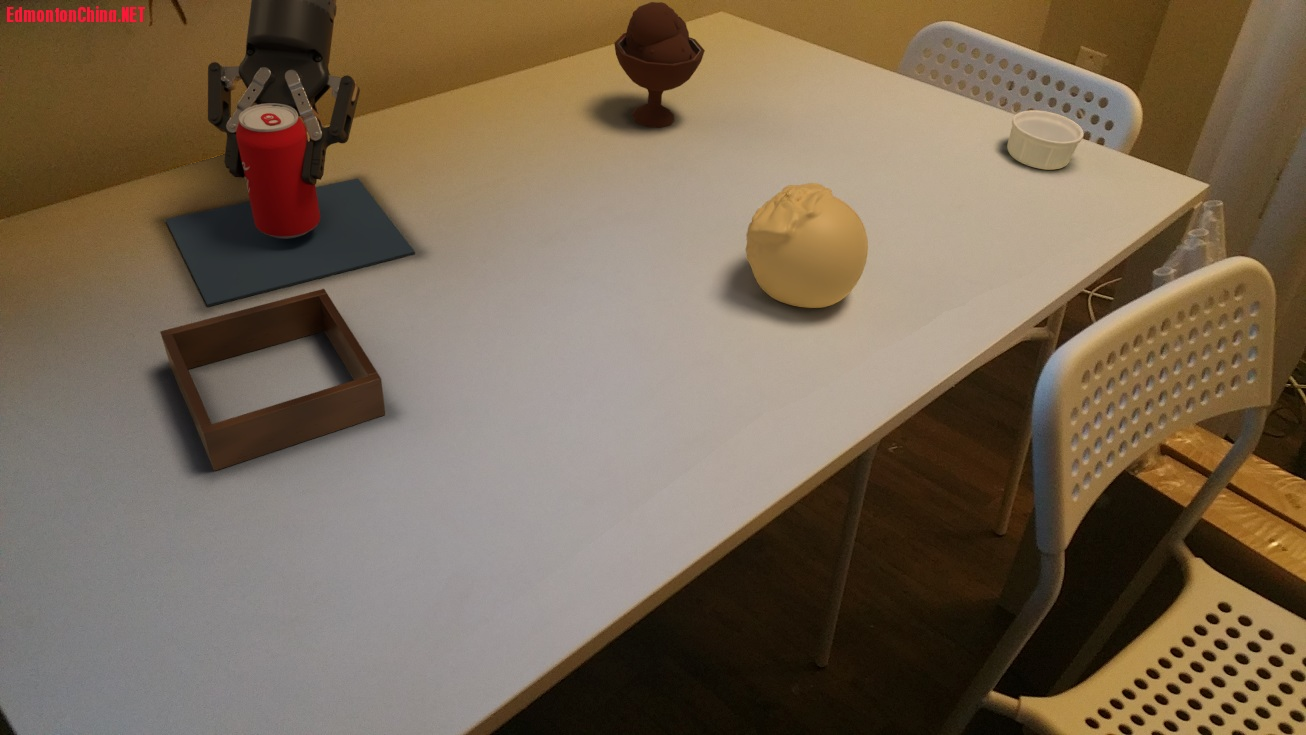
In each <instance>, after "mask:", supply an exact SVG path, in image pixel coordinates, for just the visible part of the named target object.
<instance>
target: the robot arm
mask: <svg viewBox="0 0 1306 735" xmlns="http://www.w3.org/2000/svg"><path fill="white" fill-rule="evenodd" d="M337 8H338V7H337V0H251V3H250V9H249V10H250V12H249V19H248V24H247V25H248V26H247V34H246V43H245V54H244V57H243V60H242V61H241V62H240V63H239V65H238V66H234V65H233V66H222V65H221V64H220V63H218V62H216V61H213V62H210V63H209V64H208V67H207V120H208V122H209V123H210V124H211V125H213V126H214V127H215V128H217V129H218V131H220V132H223V133H225V134H226V141H225V151H224V157H223V158H224V160H223V163H224V166H225V168H226V169H228V172H229V174H230V175H231V176H233V177H234V178H237V179H245V175H244V170H243V166H242V161H241V156H240V152H239V147H238V142H237V138H236V130H237V127H238V124H239V115H240V114H241V112H242V111H244V110H245V109H247V108H249V107H252V106H255V105H259V104H267V103H276V104H283V105H287V106H290V107H292V108H294V109H295V110H296V111H297V113H298V117H301V118H300V119H301V120H302V122H303V124H304V125H305V127H306V131H307V135H308V137H309V139H308V141H306V148H305V154H304V162H303V171H302V180H303V181H304V182H305V183H306V184H307V185H315V186H316V185H317V181H318V180H322V178H323V177H324V172H325V162H326V156H327V155H326V154H327V149H328V148H329V147H330V146H331V145H335V144H338V143H339V144H343V145H344V144H346V143H347V142H348V141H349V138H350V134H351V130H352V125H353V122H354V117H355V113H356V109H357V105H358V101H359V97H360V93H361V90H360V89H361V88H360V87H359V85H358V84H357V82H356V81H355V80H354V79H353V77H352V76H351V75H343V76H340V77H339V76H335V75H331V73H330V69H329V64H330V59H331V58H330V57H331V50H332V41H333V40H332V39H333V34H334V24H335V17H336V15H337ZM239 81H242V83H243V84H244V86H245V88H246V90H245V92H244V93H243V94H242V96H241V97H240V99H239V100H238V101H237V103H236V109H235V110H234V112H233V114H232V91H234V90H236V88H237V85H238V82H239ZM330 89H331V96H333V98H335V101H334V106H333V110H332V113H331V117H330V122H329V126H326V127H325V126H324V121H323V119H322V115H321V113H320V111H319V108H318V105H317V103H318V102H319V101H320V99H321V98H323V96H325V95H326V93H327V92H328V91H329V90H330ZM273 106H279V105H273ZM280 107H282V106H280Z"/></svg>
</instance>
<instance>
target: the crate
mask: <svg viewBox="0 0 1306 735" xmlns="http://www.w3.org/2000/svg"><path fill="white" fill-rule="evenodd" d="M322 332H324V334H325V335H326V337H327V338H328V340H329V342H330V343H331V345H332V347H333V348H334V350H335V351H336V353H337V355H338V356H339V358H340V360H341V361H342V363H343V364H344V366H345V368H346V370H347V371H348V373H349V374H350V376H351V378H352V380H351V381H348V382H344V383H341V384H338V385H334V386H331V387H328V388H325V389H321V390H318V391H315V392H311V393H308V394H305V395H302V396H299V397H296V398H293V399H290V400H286V401H282V402H280V403H275V404H272V405H269V406H266V407H264V408H260V409H257V410H254V411H250V412H247V413H243V414H240V415H237V416H234V417H231V418H227V419H224V420H221V421H217V422H214V423H212V421H211V419H210V416H209V414H208V412H207V410H206V407H205V404H204V403H203V400H202V398H201V396H200V394H199V392H198V389H197V387H196V384H195V382H194V380H193V377H192V375H191V373H190V371H189V370H191V369H194V368H197V367H202V366H204V365H208V364H212V363H216V362H218V361H222V360H226V359H229V358H234V357H236V356H240V355H245V354H248V353H250V352H254V351H255V352H256V351H258V350H262V349H265V348H269V347H272V346H275V345H280V344H284V343H286V342H287V343H288V342H290V341H294V340H298V339H301V338H304V337H308V336H311V335H315V334H318V333H322ZM160 336H161V340H162V342H163V346H164V349H165V352H166V357H167V359H168V363H169V366H170V369H171V371H172V374H173V376H174V378H175V381H176V383H177V386H178V388H179V390H180V393H181V396H182V398H183V400H184V403H185V405H186V407H187V409H188V412H189V414H190V417H191V419H192V421H193V424H194V426H195V429H196V431H197V434H198V436H199V438H200V440H201V443H202V445H203V448H204V450H205V453H206V455H207V458H208V460H209V462H210V465H211V467H212V469H213V471H214V472H216V471H220V470H222V469H225V468H228V467H232V466H234V465H237V464H240V463H243V462H247V461H250V460H252V459H256V458H257V457H261V456H264V455H268V454H271V453H273V452H276V451H279V450H282V449H286V448H289V447H291V446H295V445H298V444H300V443H303V442H306V441H310V440H312V439H316V438H319V437H322V436H325V435H329V434H331V433H334V432H338V431H340V430H343V429H346V428H350V427H352V426H355V425H359V424H361V423H365V422H367V421H368V422H369V421H370V420H373V419H377V418H379V417H382V416H385V415H386V408H385V407H386V406H385V399H384V398H385V397H384V391H383V390H384V389H383V381H382V377H381V376H380V374H379V373H378V371H377V370H376V368H375V366H374V365H373V363H372V362H371V360H370V358H369V356H367V354H366V352H365V351H364V349H363V347H362V346H361V344H360V342H359V341H358V339H357V338H356V336H355V335H354V333H353V332H352V330H351V329H350V327H349V325H348V324H347V322H346V321H345V319H344V317H343V316H342V314H341V313H340V311H339V310H338V308H337V307H336V305H335V303H334V302H333V300H332V299H331V297H330V295H329V294H328V292H327V291H326V290H325V288H322V289H321V288H320V289H317V290H313V291H309V292H306V293H305V292H304V293H301V294H298V295H295V296H290V297H287V298H282V299H279V300H276V301H271V302H268V303H264V304H259V305H255V306H252V307H248V308H244V309H241V310H236V311H232V312H229V313H225V314H221V315H218V316H214V317H210V318H206V319H202V320H199V321H195V322H191V323H187V324H183V325H179V326H175V327H172V328H167V329H164V330H161V331H160Z"/></svg>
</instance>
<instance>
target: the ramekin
mask: <svg viewBox="0 0 1306 735" xmlns="http://www.w3.org/2000/svg"><path fill="white" fill-rule="evenodd" d="M1084 134H1085V133H1084V130H1083V128H1082V127H1081V126H1080V125H1079V124H1078V123H1077V122H1075V121H1074V120H1072V119H1070V118H1069V117H1066V116H1063V115H1062V114H1058V113H1055V112H1051V111H1046V110H1038V109H1037V110H1034V109H1032V110H1031V109H1030V110H1023V111H1019V112H1017V113H1016V114H1014V115H1013V116H1012V121H1011V129H1010V133H1009V137H1008V141H1007V146H1006V147H1007V151H1008V153H1009V155H1010V157H1012V158H1013V159H1014V160H1015V161H1017V162H1019V163H1020V164H1022V165H1025V166H1028V167H1030V168H1034V169H1039V170H1045V171H1047V170H1049V171H1051V170H1059V169H1062V168H1064V167H1066V166H1067V165H1068V164H1069V163H1070V162H1071V159H1072V157H1073V155H1074V153H1075V151H1076V149H1077V147H1078V146H1079V144H1080V143H1081V142H1082V140H1083V138H1084Z"/></svg>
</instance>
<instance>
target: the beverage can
mask: <svg viewBox="0 0 1306 735" xmlns="http://www.w3.org/2000/svg"><path fill="white" fill-rule="evenodd" d="M273 105H279V106H273ZM280 106H282V107H280ZM308 137H309V136H308V132H307V129H306V126H305V124H304V121H303V120H302V118H300V116H298V113H297V111H296V110H295V109H294V108H292V107H290V106H287V105H283V104H276V103H267V104H259V105H255V106H252V107H249V108H247V109H245V110H244V111H242V112H241V114H240V115H239V124H238V127H237V130H236V138H237V142H238V147H239V152H240V156H241V161H242V166H243V170H244V175H245V177H244V179H245V184H246V189H247V194H248V197H249V198H248V199H249V201H250V203H251V208H252V212H253V217H254V222H255V226H256V227H257V229H258V230H260V231H261V232H262V233H264V234H266V235H269V236H272V237H276V238H282V239H288V238H295V237H299V236H302V235H304V234H306V233H308V232H309V231H311V230H312V229H314V228H315V227H316V226H317V225H318V223H319V221H320V211H319V205H318V199H317V193H316V187H317V186H316V185H307V184H306V183H305V182H304V181H303V180H302V171H303V162H304V154H305V148H306V141H309V138H308Z"/></svg>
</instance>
